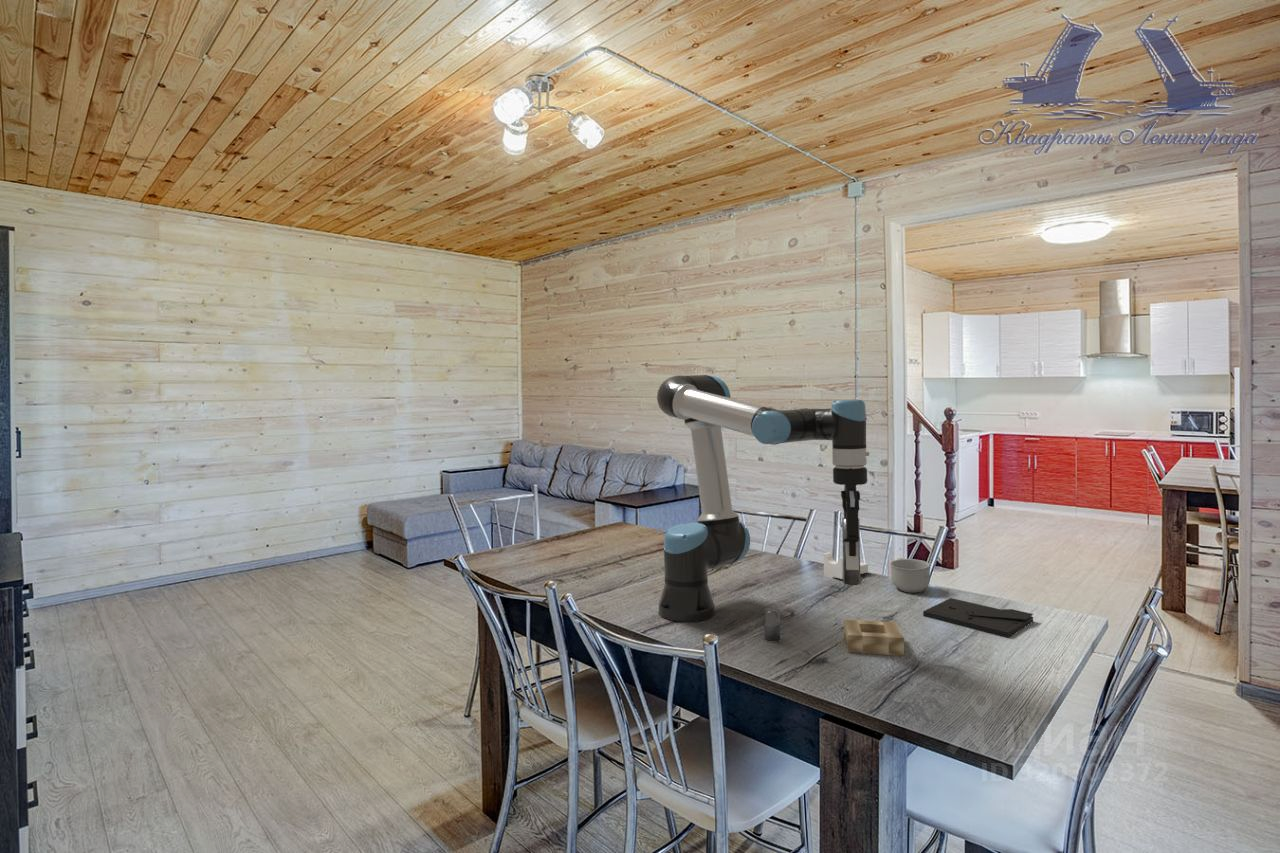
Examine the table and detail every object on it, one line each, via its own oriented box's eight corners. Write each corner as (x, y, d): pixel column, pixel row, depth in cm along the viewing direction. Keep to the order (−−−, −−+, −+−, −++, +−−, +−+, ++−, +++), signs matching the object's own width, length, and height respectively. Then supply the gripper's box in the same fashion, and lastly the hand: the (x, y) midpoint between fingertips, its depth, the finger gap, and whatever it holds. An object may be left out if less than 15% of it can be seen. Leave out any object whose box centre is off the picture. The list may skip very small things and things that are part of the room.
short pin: (763, 641, 157) (763, 612, 157) (764, 635, 161) (764, 607, 161) (780, 642, 157) (780, 613, 156) (780, 636, 160) (780, 608, 160)
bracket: (842, 582, 204) (842, 558, 204) (823, 576, 210) (823, 553, 210) (868, 574, 212) (868, 551, 211) (849, 569, 217) (849, 547, 217)
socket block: (847, 651, 150) (847, 634, 150) (843, 635, 160) (844, 619, 160) (903, 655, 148) (903, 638, 148) (896, 638, 158) (896, 622, 157)
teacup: (933, 596, 188) (933, 568, 188) (893, 594, 191) (893, 567, 190) (922, 582, 202) (923, 556, 202) (885, 580, 204) (885, 555, 204)
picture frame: (1033, 624, 167) (950, 605, 183) (1033, 613, 167) (950, 595, 183) (1008, 641, 157) (923, 619, 173) (1008, 629, 157) (923, 608, 173)
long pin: (843, 584, 152) (842, 520, 151) (842, 580, 156) (841, 517, 155) (861, 585, 151) (860, 520, 150) (859, 580, 155) (858, 517, 154)
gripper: (870, 470, 143) (872, 577, 144) (863, 462, 159) (865, 558, 160) (834, 470, 145) (836, 576, 146) (831, 462, 161) (833, 557, 162)
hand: (851, 566), depth 153 cm, fingers closed on long pin, 4 cm apart
